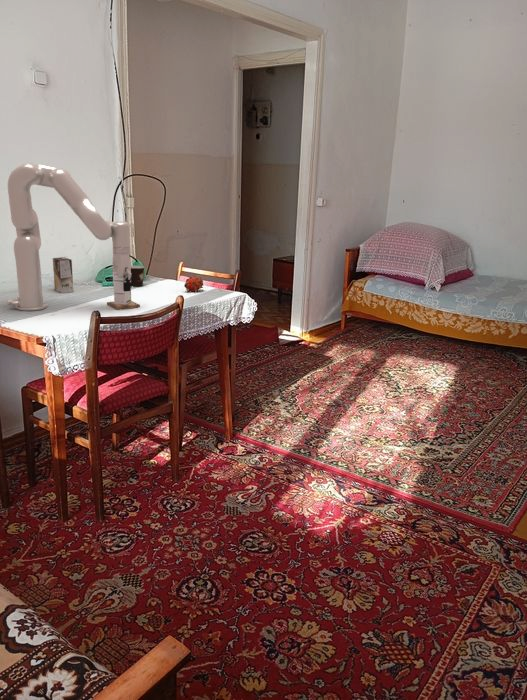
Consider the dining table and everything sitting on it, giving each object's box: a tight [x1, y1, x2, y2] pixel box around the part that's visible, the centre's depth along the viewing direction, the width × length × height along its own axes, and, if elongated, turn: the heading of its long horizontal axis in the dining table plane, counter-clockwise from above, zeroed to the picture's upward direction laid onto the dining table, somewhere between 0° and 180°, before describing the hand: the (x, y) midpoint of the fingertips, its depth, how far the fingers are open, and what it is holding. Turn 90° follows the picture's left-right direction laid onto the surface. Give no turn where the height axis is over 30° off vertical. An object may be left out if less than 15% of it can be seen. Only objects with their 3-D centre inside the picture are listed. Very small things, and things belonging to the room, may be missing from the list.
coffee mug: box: [130, 265, 145, 288], centre depth 300 cm, size 12×9×10 cm
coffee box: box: [52, 256, 74, 294], centre depth 281 cm, size 9×6×16 cm
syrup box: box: [112, 271, 132, 305], centre depth 255 cm, size 6×6×14 cm
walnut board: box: [106, 300, 141, 311], centre depth 257 cm, size 11×11×1 cm
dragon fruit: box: [183, 275, 204, 292], centre depth 295 cm, size 8×8×12 cm
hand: (122, 289), depth 255 cm, fingers open, 9 cm apart
